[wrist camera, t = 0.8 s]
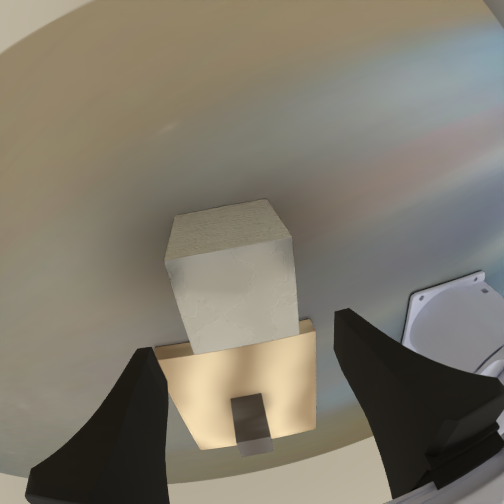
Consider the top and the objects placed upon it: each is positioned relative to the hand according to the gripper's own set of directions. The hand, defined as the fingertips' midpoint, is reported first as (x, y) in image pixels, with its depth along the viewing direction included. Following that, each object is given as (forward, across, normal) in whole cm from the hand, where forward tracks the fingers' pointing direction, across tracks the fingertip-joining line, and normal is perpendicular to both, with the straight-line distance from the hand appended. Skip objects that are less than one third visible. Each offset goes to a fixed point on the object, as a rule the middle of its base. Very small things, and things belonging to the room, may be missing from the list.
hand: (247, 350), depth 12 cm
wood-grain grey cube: (+9, 0, 0) cm, 9 cm away
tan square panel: (+9, +1, +14) cm, 17 cm away
